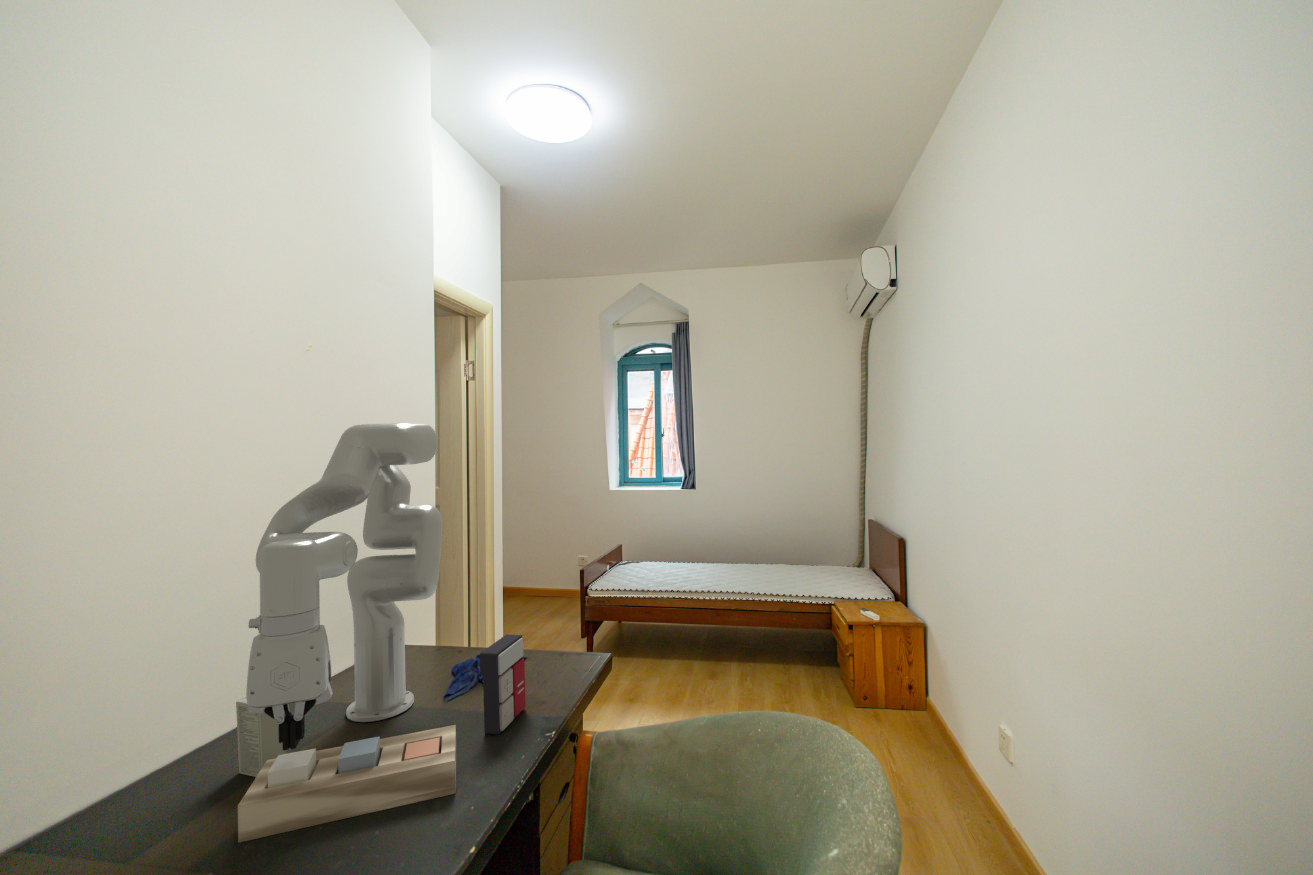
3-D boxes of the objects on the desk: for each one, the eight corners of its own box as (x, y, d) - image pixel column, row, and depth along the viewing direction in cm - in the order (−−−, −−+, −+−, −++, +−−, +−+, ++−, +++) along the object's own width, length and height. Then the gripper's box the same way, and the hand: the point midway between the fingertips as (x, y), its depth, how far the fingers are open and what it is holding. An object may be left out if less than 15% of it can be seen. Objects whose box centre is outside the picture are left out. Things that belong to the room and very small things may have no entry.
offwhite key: (278, 774, 84) (278, 755, 84) (316, 767, 85) (316, 748, 86) (267, 793, 79) (267, 772, 79) (307, 785, 81) (307, 765, 81)
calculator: (502, 735, 101) (500, 654, 102) (481, 734, 102) (479, 653, 102) (527, 708, 112) (525, 634, 112) (508, 706, 113) (506, 633, 113)
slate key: (345, 761, 87) (344, 742, 87) (380, 755, 88) (379, 736, 89) (338, 779, 82) (338, 759, 82) (375, 771, 84) (375, 751, 84)
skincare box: (288, 765, 94) (287, 693, 94) (262, 780, 89) (261, 705, 90) (262, 759, 96) (261, 689, 96) (235, 773, 92) (234, 700, 92)
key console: (267, 792, 86) (267, 760, 86) (456, 753, 96) (455, 724, 96) (238, 842, 75) (237, 805, 75) (455, 793, 84) (454, 760, 84)
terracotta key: (407, 762, 90) (407, 743, 90) (440, 755, 91) (439, 737, 92) (404, 778, 85) (404, 759, 85) (438, 771, 87) (438, 752, 87)
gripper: (220, 636, 77) (221, 769, 76) (341, 622, 82) (343, 747, 81) (241, 622, 84) (242, 743, 83) (351, 609, 89) (352, 724, 88)
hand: (291, 744), depth 82 cm, fingers closed
